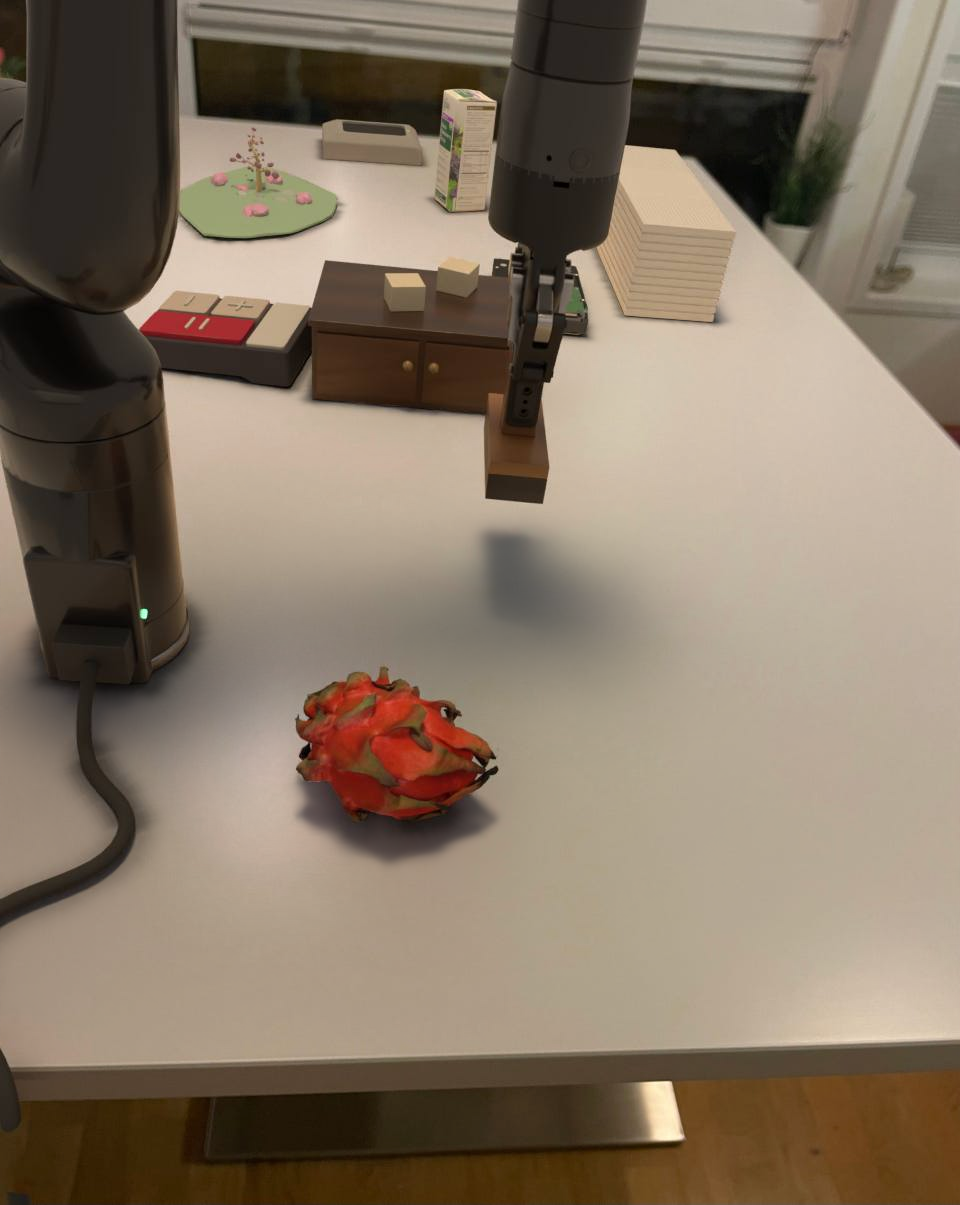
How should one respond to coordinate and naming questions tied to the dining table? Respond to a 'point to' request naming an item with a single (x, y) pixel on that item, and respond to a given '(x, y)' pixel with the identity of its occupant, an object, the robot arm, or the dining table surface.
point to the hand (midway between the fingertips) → (519, 413)
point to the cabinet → (407, 341)
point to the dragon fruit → (389, 748)
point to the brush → (513, 453)
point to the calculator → (231, 336)
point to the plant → (255, 201)
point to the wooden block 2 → (457, 277)
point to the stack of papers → (665, 239)
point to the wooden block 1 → (404, 292)
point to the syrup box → (464, 150)
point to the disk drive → (574, 308)
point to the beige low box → (371, 142)
